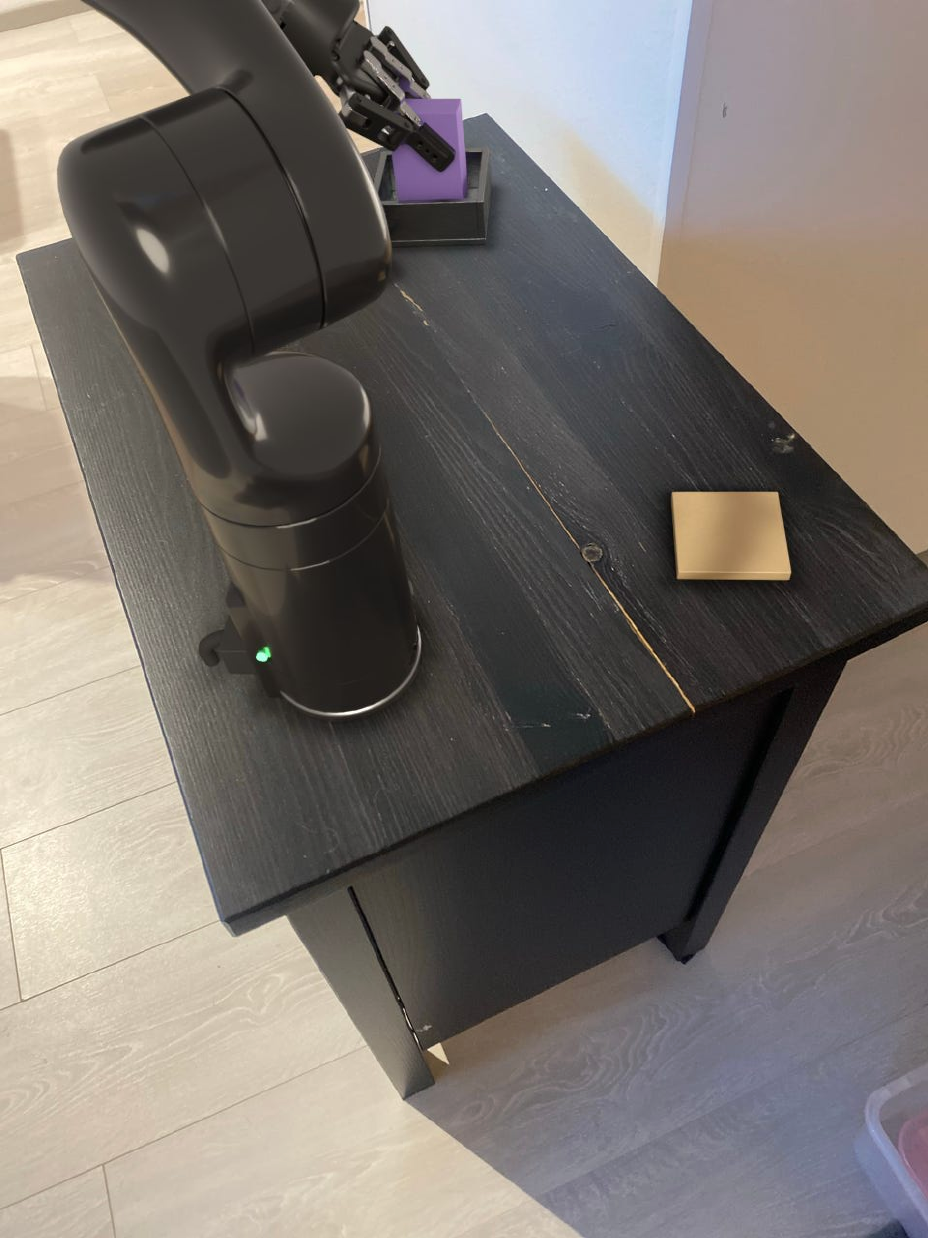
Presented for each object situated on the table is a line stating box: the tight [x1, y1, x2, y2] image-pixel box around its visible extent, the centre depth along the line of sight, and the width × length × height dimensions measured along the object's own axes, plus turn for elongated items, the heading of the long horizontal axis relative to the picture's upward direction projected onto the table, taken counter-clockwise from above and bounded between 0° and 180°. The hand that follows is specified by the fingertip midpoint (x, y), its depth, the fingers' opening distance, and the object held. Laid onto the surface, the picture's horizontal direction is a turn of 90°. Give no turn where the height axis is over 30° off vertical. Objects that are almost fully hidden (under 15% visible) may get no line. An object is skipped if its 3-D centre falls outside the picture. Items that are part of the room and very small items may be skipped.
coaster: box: [670, 491, 792, 581], centre depth 62 cm, size 7×7×1 cm
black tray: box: [373, 147, 492, 248], centre depth 86 cm, size 10×9×4 cm
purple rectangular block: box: [391, 98, 468, 201], centre depth 83 cm, size 2×6×8 cm, turn 81°
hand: (451, 153), depth 82 cm, fingers closed on purple rectangular block, 2 cm apart
